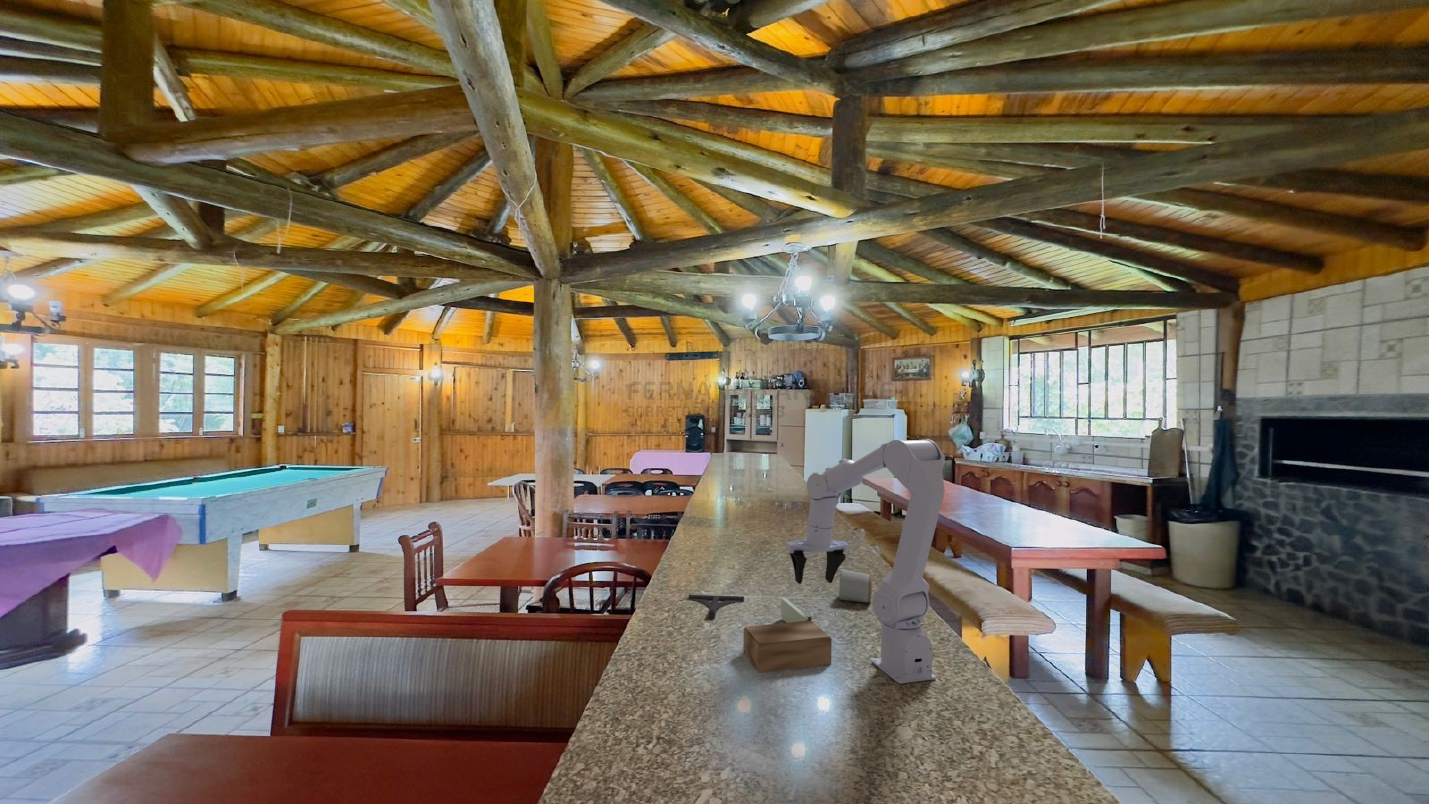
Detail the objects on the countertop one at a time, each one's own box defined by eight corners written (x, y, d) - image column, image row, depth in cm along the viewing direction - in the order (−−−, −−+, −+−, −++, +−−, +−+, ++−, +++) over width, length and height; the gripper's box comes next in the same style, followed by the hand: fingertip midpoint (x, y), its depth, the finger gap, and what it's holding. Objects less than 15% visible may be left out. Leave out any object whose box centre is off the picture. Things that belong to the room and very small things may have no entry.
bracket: (681, 621, 131) (681, 609, 131) (689, 600, 146) (689, 589, 146) (742, 624, 130) (742, 612, 130) (744, 602, 145) (744, 591, 145)
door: (814, 640, 118) (815, 618, 118) (806, 641, 118) (806, 619, 118) (788, 616, 132) (789, 597, 132) (780, 617, 131) (781, 597, 131)
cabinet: (832, 664, 108) (833, 635, 108) (758, 673, 104) (759, 642, 104) (810, 643, 118) (810, 616, 118) (741, 650, 114) (741, 622, 114)
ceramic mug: (871, 607, 140) (872, 576, 141) (838, 603, 143) (839, 573, 143) (872, 595, 151) (873, 566, 151) (841, 591, 153) (842, 563, 153)
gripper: (840, 518, 132) (834, 573, 134) (784, 518, 128) (777, 574, 130) (855, 529, 125) (848, 586, 127) (796, 529, 121) (789, 588, 123)
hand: (813, 581), depth 128 cm, fingers open, 7 cm apart
